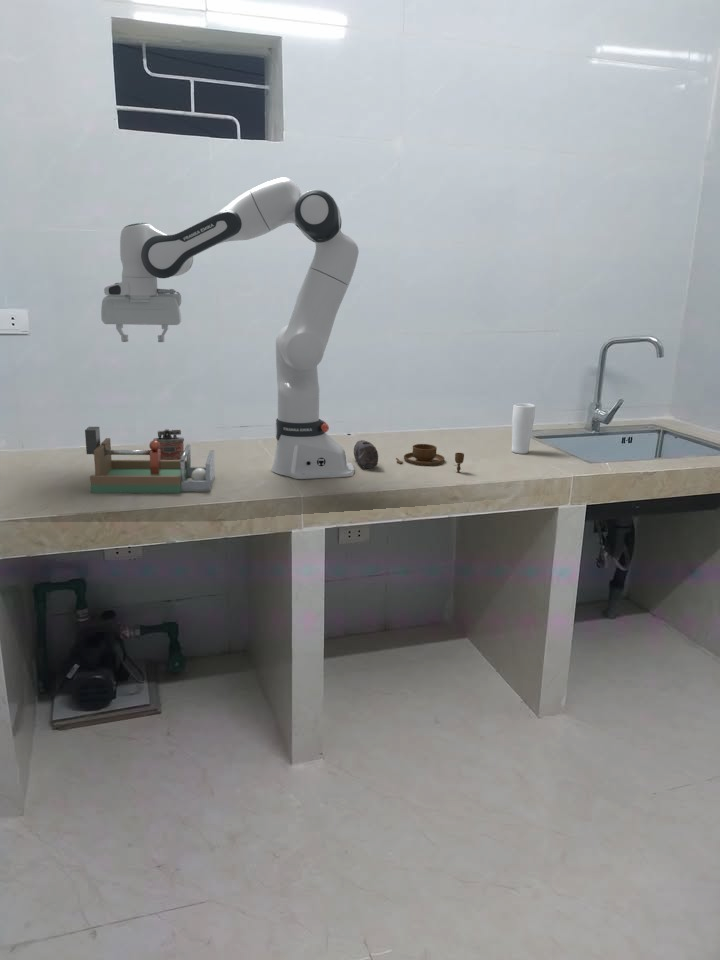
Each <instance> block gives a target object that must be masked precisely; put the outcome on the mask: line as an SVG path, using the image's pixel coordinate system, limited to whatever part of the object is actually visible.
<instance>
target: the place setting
mask: <svg viewBox="0 0 720 960" xmlns="http://www.w3.org/2000/svg"><path fill="white" fill-rule="evenodd" d="M437 448H438V447H437V446H436V445H434V444H428V443H417V444H414V445H412V452H408V453H405V454H404V455H403V459H404V461H405V462H406V463H408V464H410V465H414V466H422V467H423V466H424V467H433V466H439V465H442V464H443V463H444V462H445V456H444V455H442V454H440V453H437ZM411 458H414V459H416V460H414V459H411ZM434 459H436V461H432V460H434ZM464 459H465V453H463V452H455V454H454V461H455V463H456V464H454V465H453V466H456V474H461V464H463V463H464ZM395 460H396V463H397V464H404V461H402V460H400V459H399V458H398V457H396V458H395Z"/></svg>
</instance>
